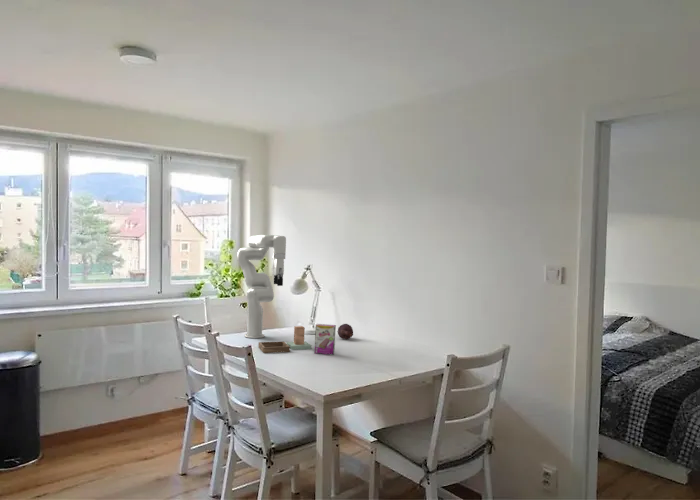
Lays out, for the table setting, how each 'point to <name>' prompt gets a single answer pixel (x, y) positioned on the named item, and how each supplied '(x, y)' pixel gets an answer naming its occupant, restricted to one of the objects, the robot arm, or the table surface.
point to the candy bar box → (325, 339)
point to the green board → (294, 346)
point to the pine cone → (345, 331)
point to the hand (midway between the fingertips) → (278, 284)
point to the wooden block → (299, 335)
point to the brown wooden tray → (273, 347)
